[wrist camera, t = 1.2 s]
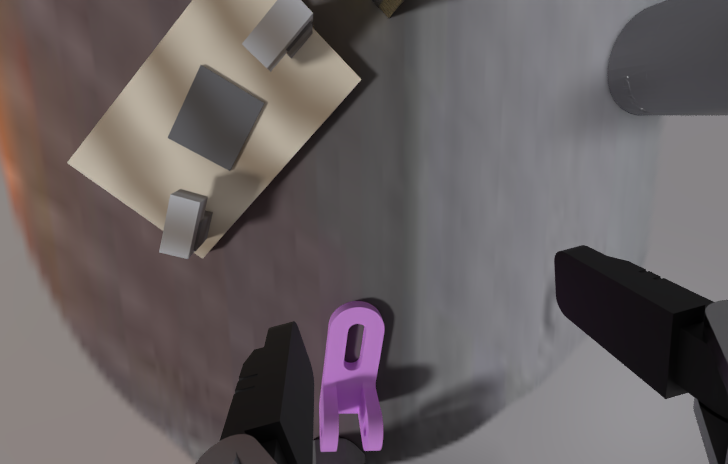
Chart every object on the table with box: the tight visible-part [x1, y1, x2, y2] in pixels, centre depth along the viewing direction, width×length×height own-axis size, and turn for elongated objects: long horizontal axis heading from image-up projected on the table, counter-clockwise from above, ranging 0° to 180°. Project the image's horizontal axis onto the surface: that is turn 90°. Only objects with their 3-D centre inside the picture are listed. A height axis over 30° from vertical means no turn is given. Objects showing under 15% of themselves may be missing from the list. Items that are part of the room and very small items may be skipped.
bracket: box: [319, 301, 385, 452], centre depth 34 cm, size 13×6×7 cm, turn 172°
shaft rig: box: [67, 0, 361, 259], centre depth 26 cm, size 20×12×6 cm, turn 136°
